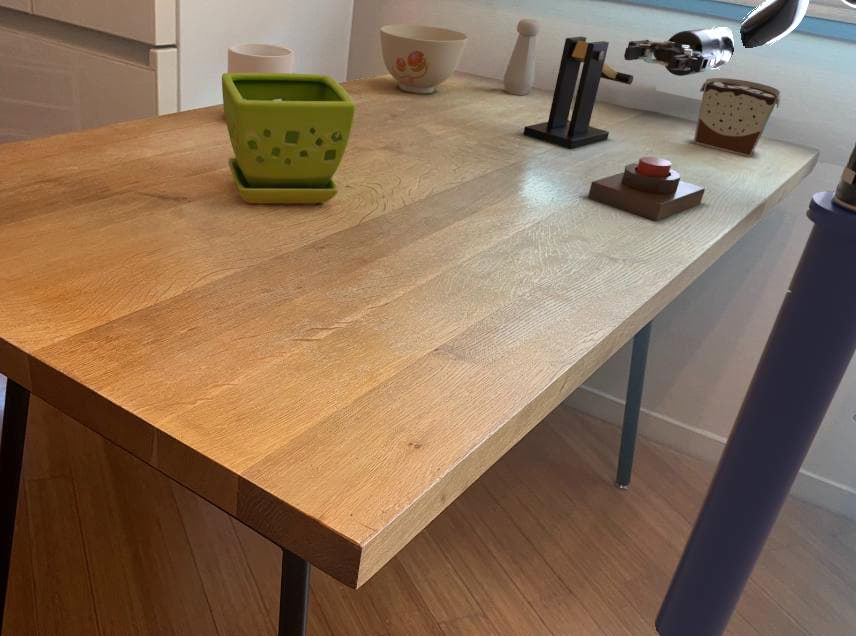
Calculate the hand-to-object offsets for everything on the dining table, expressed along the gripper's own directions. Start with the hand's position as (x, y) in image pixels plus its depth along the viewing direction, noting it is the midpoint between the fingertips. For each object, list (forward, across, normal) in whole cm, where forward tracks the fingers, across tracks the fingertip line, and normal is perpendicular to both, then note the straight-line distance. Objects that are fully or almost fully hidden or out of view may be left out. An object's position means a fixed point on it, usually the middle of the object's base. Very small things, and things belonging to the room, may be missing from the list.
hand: (649, 58), depth 148 cm
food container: (0, +18, +11) cm, 21 cm away
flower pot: (+80, -3, +11) cm, 81 cm away
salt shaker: (+2, -24, +11) cm, 26 cm away
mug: (+59, -31, +11) cm, 68 cm away
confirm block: (+40, +24, +11) cm, 48 cm away
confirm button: (+40, +24, +7) cm, 47 cm away
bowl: (+19, -34, +11) cm, 41 cm away
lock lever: (+17, 0, +1) cm, 17 cm away
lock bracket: (+22, 0, +11) cm, 24 cm away
